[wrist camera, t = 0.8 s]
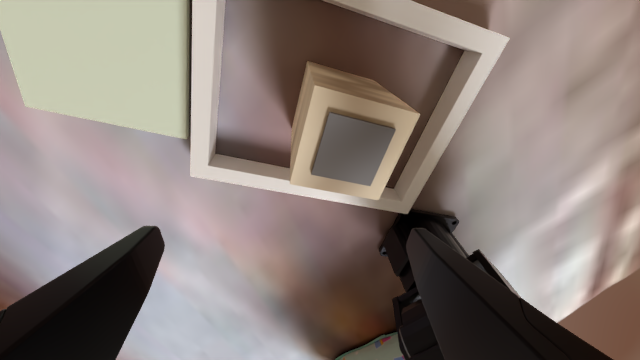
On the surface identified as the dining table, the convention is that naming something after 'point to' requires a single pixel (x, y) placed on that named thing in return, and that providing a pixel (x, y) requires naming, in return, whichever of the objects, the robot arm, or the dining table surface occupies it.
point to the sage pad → (103, 59)
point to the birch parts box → (347, 133)
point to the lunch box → (376, 350)
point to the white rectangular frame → (467, 79)
